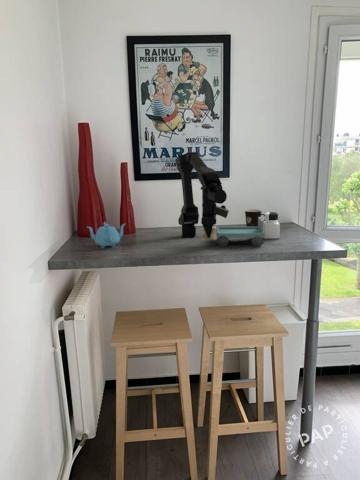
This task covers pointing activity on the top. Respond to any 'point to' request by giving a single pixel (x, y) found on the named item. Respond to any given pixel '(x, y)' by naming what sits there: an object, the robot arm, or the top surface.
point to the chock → (213, 234)
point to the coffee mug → (252, 217)
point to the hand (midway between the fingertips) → (209, 235)
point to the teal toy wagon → (241, 234)
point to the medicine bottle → (271, 226)
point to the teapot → (107, 235)
